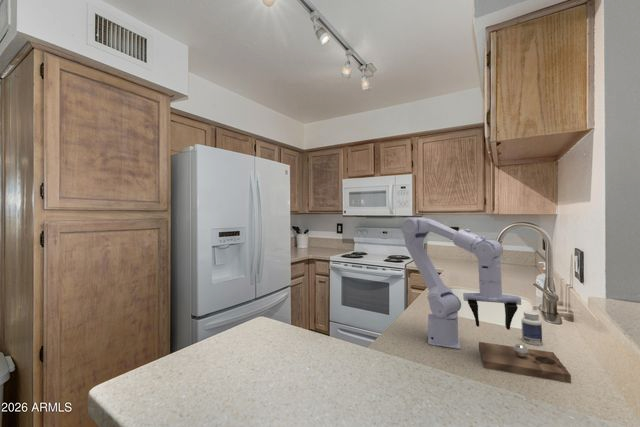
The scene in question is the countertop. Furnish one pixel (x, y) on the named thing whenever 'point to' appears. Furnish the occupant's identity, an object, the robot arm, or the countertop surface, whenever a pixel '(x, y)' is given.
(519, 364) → the walnut board
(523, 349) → the steel ball
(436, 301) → the robot arm
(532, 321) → the pill bottle
